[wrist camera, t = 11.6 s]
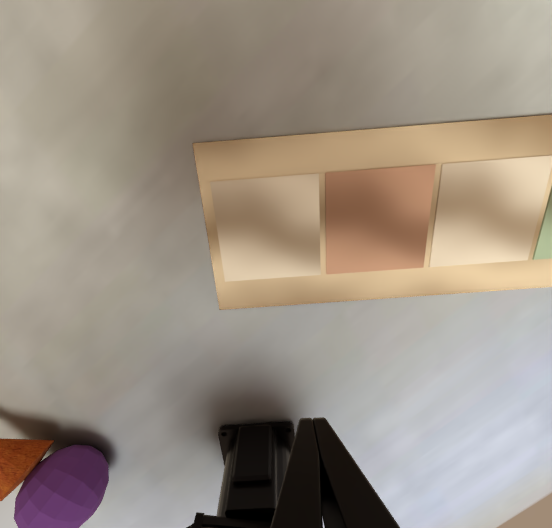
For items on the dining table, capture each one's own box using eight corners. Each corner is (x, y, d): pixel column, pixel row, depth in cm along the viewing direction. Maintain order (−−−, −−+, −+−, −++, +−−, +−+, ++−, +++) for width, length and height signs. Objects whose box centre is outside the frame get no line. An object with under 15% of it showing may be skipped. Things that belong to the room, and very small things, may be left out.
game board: (626, 280, 19) (631, 282, 19) (220, 308, 19) (219, 310, 19) (697, 103, 15) (704, 102, 15) (193, 143, 16) (191, 143, 15)
